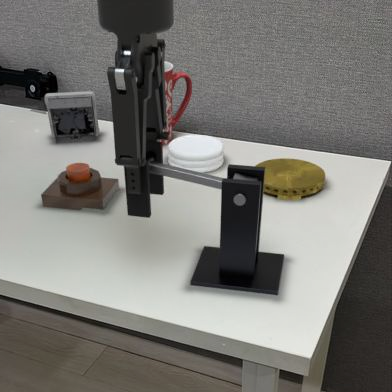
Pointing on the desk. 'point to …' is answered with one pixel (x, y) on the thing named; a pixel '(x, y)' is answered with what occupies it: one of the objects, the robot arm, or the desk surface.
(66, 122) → the electrical switch
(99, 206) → the button block
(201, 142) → the coaster
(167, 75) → the mug
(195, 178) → the switch lever
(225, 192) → the stand
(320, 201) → the desk surface
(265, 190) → the compass
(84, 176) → the button
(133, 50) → the robot arm
